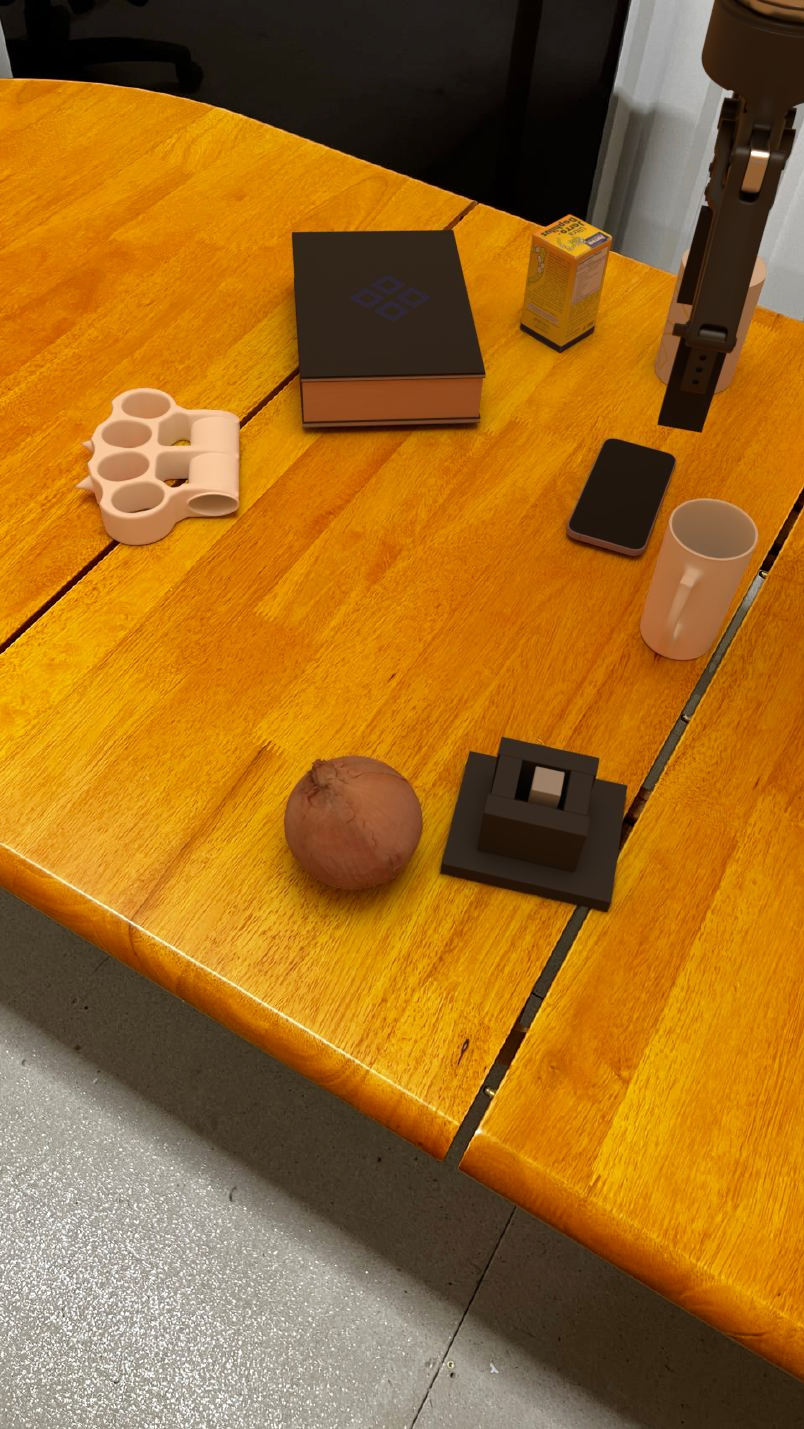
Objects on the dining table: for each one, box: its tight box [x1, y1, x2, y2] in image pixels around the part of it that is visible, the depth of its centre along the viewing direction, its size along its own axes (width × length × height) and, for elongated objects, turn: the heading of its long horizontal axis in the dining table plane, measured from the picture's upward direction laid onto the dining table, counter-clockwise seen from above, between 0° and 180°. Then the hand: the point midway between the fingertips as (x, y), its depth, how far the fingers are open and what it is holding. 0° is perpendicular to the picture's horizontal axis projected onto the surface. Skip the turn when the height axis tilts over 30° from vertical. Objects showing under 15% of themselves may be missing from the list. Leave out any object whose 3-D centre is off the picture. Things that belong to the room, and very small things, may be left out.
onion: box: [283, 755, 424, 891], centre depth 75 cm, size 10×9×10 cm
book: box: [291, 229, 487, 429], centre depth 112 cm, size 17×25×7 cm
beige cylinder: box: [654, 247, 768, 395], centre depth 110 cm, size 8×8×12 cm
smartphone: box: [566, 437, 677, 557], centre depth 102 cm, size 7×1×15 cm
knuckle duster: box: [74, 387, 241, 546], centre depth 101 cm, size 3×18×15 cm
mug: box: [639, 497, 759, 661], centre depth 87 cm, size 10×7×12 cm, turn 151°
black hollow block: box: [477, 736, 600, 872], centre depth 77 cm, size 7×7×5 cm
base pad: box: [439, 750, 628, 913], centre depth 78 cm, size 12×10×7 cm
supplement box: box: [519, 214, 613, 353], centre depth 114 cm, size 6×6×11 cm
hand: (688, 361), depth 71 cm, fingers open, 13 cm apart
